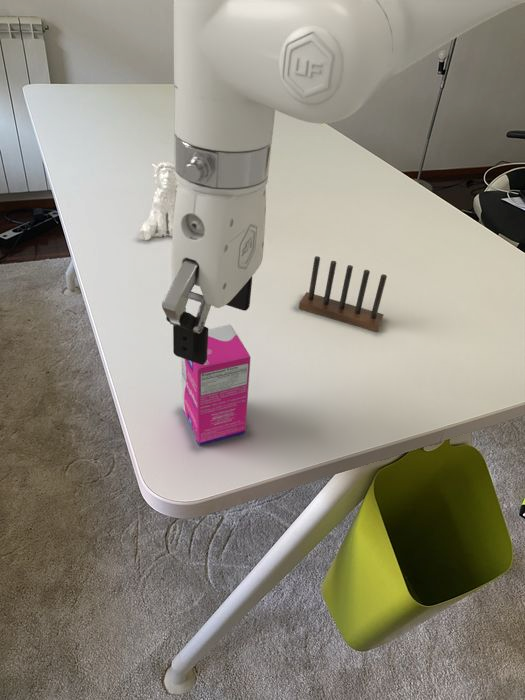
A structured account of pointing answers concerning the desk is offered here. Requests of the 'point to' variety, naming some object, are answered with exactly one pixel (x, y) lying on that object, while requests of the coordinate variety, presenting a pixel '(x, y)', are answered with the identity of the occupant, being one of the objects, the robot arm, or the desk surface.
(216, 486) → the desk surface
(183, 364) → the supplement box
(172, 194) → the white creature statuette
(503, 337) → the desk surface
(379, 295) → the rack
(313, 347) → the desk surface
